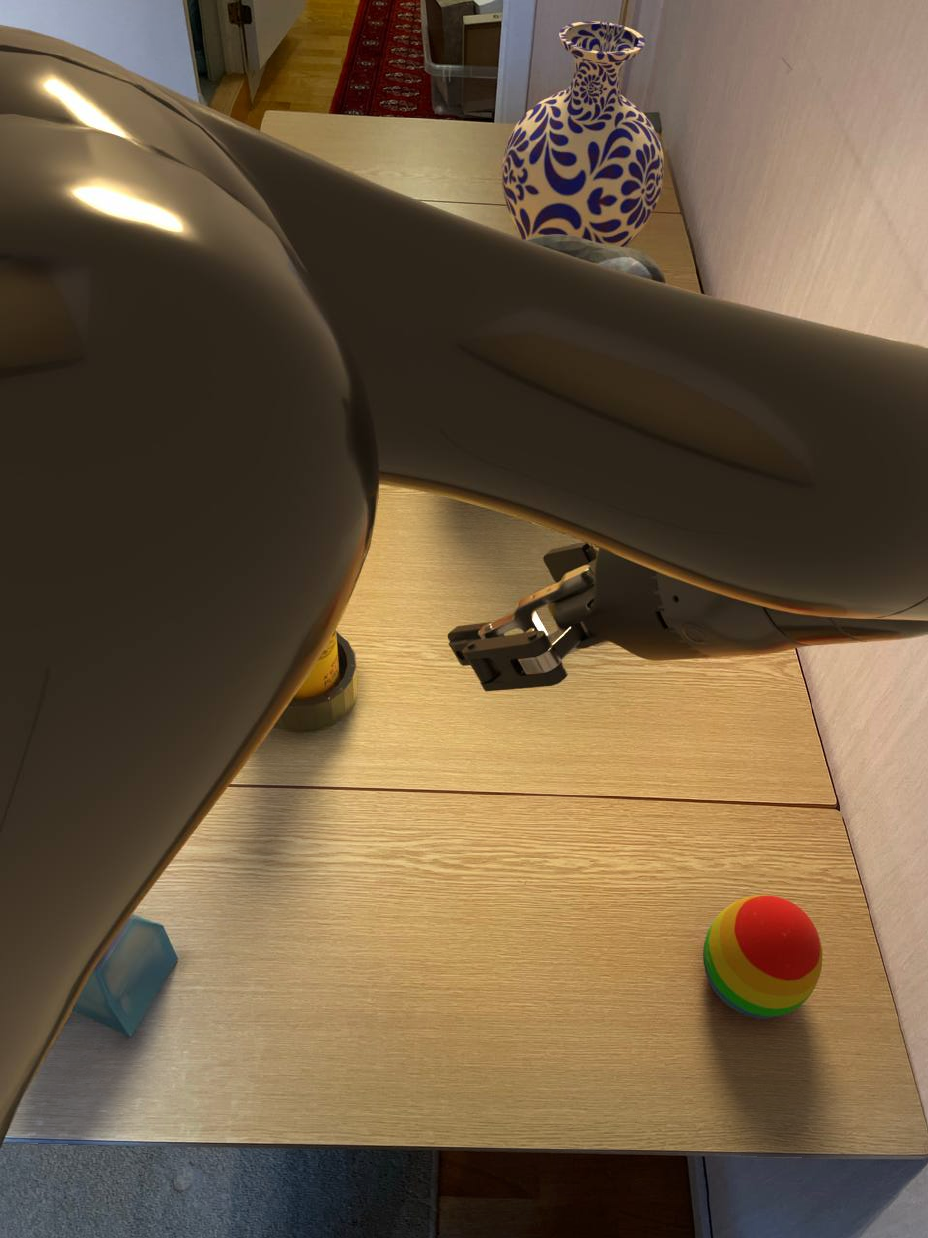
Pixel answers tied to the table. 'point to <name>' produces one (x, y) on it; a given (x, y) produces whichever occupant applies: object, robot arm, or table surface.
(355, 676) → the round brown bowl
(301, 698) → the beer can
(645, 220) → the vase
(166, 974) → the perfume bottle
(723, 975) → the striped foam ball
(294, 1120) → the table surface
